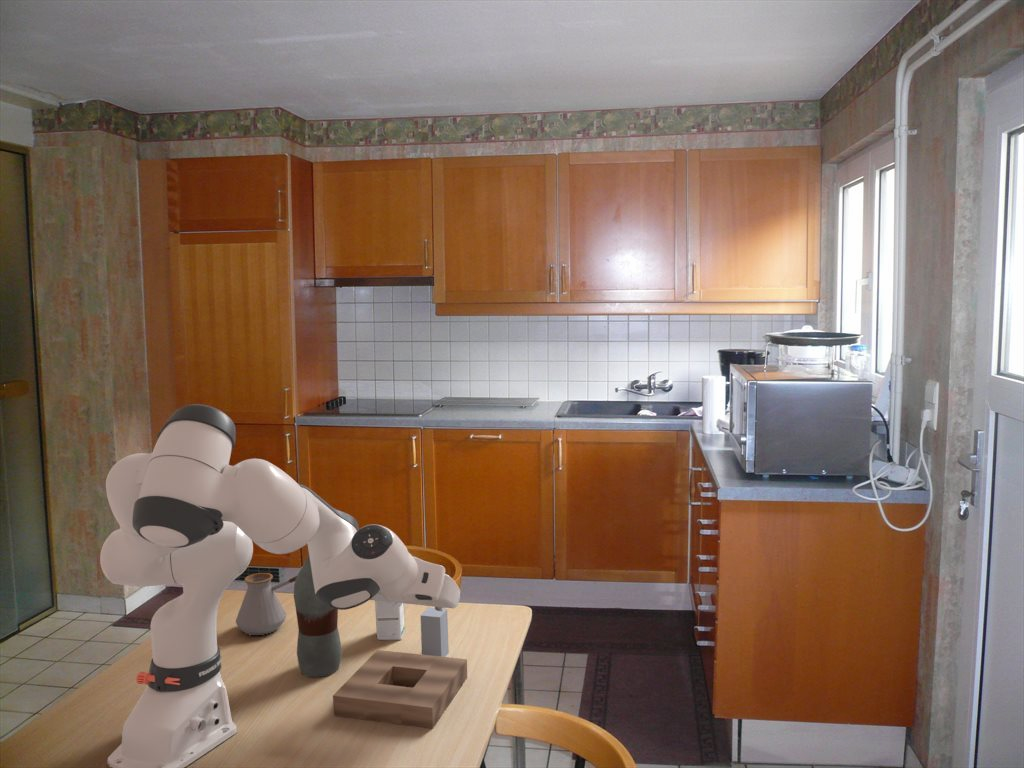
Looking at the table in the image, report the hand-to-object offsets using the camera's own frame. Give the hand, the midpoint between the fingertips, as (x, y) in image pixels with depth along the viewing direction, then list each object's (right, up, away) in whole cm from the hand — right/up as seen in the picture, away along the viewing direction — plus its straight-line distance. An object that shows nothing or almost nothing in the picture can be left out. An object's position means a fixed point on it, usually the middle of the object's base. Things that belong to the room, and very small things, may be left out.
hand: (419, 605), depth 168 cm
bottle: (-22, -16, +7) cm, 28 cm away
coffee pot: (-36, -13, +28) cm, 48 cm away
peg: (+2, -14, +12) cm, 19 cm away
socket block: (-3, -16, -6) cm, 18 cm away
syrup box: (-9, -13, +23) cm, 28 cm away
